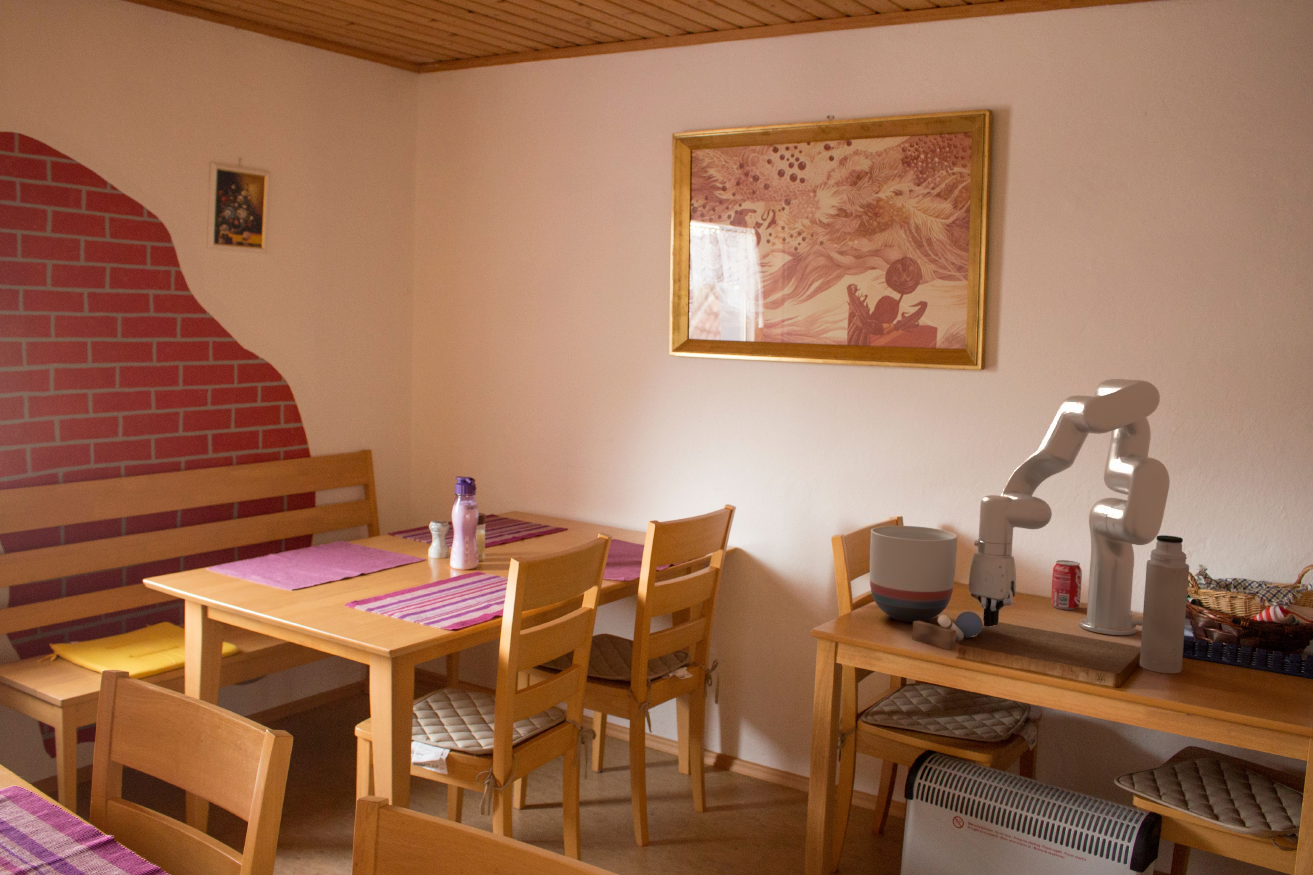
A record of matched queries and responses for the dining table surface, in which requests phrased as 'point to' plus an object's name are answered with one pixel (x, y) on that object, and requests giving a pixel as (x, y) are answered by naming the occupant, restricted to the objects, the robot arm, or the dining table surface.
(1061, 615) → the dining table surface
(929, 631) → the stopper bar
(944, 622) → the pin
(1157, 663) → the thermos bottle
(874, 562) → the planter
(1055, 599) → the soda can
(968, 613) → the ball
